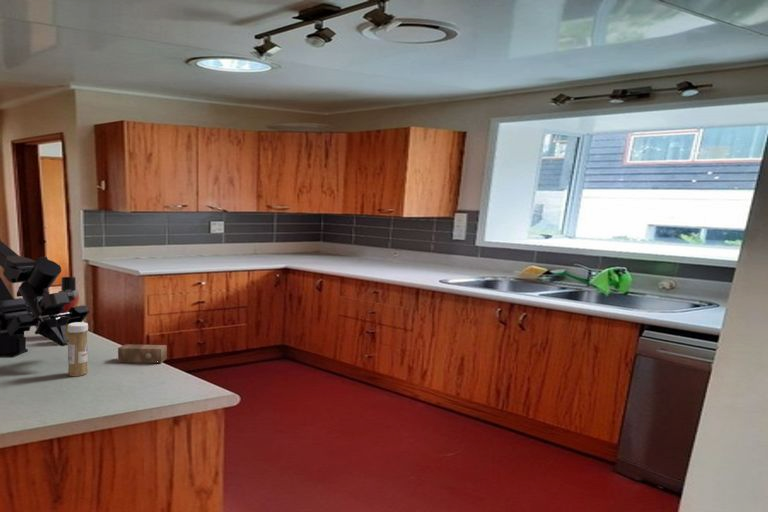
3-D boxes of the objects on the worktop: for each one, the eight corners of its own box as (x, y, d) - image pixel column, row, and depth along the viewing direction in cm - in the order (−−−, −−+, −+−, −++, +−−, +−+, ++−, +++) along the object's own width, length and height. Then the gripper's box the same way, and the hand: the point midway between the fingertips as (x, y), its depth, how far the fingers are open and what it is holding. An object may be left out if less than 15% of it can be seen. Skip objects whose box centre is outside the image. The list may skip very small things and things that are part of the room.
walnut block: (117, 348, 141) (160, 349, 142) (124, 344, 145) (166, 345, 146) (117, 362, 141) (160, 363, 142) (124, 358, 146) (166, 359, 146)
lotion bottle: (57, 339, 159) (57, 277, 158) (59, 335, 164) (59, 275, 163) (78, 338, 162) (78, 277, 160) (79, 334, 167) (79, 275, 165)
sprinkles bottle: (88, 375, 130) (88, 324, 129) (67, 377, 127) (67, 326, 126) (87, 370, 134) (87, 321, 132) (67, 372, 131) (67, 322, 130)
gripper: (13, 284, 124) (41, 334, 121) (85, 277, 141) (111, 320, 138) (-5, 311, 128) (21, 360, 125) (67, 301, 145) (92, 344, 142)
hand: (64, 345), depth 132 cm, fingers closed
